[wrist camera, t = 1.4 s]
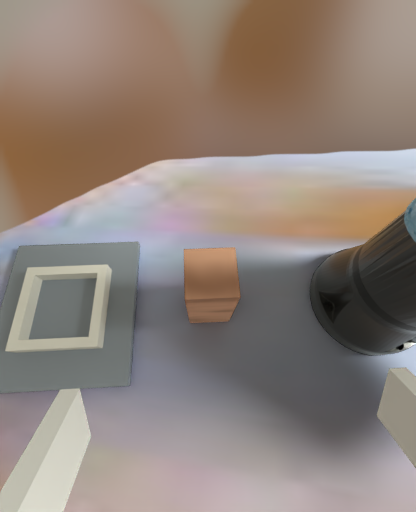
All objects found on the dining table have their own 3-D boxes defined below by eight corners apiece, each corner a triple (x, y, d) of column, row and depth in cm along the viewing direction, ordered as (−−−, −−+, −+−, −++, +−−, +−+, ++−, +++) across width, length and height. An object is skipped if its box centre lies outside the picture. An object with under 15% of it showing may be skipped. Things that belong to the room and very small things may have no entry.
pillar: (189, 285, 38) (184, 249, 27) (225, 284, 39) (235, 247, 28) (189, 323, 36) (184, 299, 25) (229, 321, 36) (240, 297, 25)
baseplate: (23, 249, 40) (10, 239, 37) (140, 245, 41) (135, 235, 38) (-18, 394, 32) (-40, 395, 29) (130, 385, 32) (123, 386, 30)
